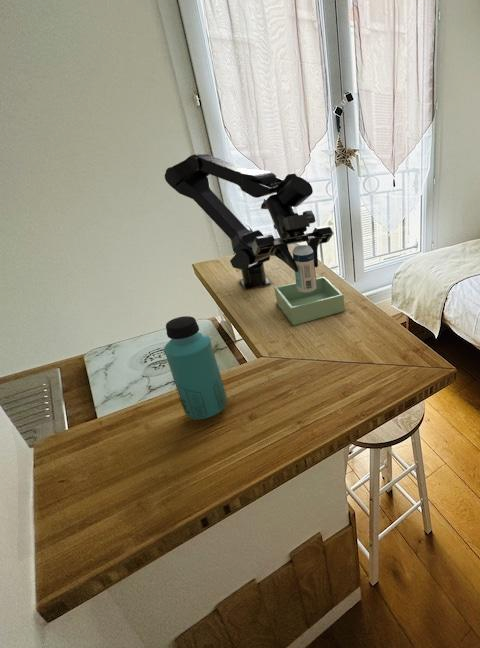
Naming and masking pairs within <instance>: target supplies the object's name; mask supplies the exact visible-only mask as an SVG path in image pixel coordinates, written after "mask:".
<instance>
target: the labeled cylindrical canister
mask: <svg viewBox="0 0 480 648" xmlns="http://www.w3.org/2000/svg"><path fill="white" fill-rule="evenodd" d="M307 245H308V244H300V245H296V246H294V247H293V250H292V258H293V260H294V261H295V263H296V266H297V268H298V272H295V271H294V275H295V276H294V277H295V283H296V285H297V290H298V291H300V292H303V293H308V292H312V291H314V290H315V289H316V288H317V283H316V278H317V275H316V267H315V263H314V253H313V250H312V248H311V247H310V246H307Z"/></svg>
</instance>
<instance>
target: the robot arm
mask: <svg viewBox="0 0 480 648" xmlns="http://www.w3.org/2000/svg"><path fill="white" fill-rule="evenodd" d="M210 175H211V176H213V177H216V178H218V179H221V180H223V181H227V182H229V183H232V184H235V185H237V186H238V187H239V188H240V190H241V191H242V192H243V193H245V194H247V195H249V196H251V197H253V198H255V199H256V198H257V199H258V198H262V197H266V196H268V197H267V198H263V200H262V201H263V202H262V203H261V205H260V209H261V210H268V213H269V216H270V217H271V220H272V222H273V228H274V230H276V231H277V234H278V237H275V238H274V235H272V234H267V235H264V234H263V233H262V231H260V229H257V230H250V229H248V228H247V227H246V226H245V225H244V224H243V223H242V222H241V220H240V219H238V218H237V216H236V215H235V214H234V213H233V212H232V211H231V210H230V209H229V208H228V207H227V205H225V203H224V202H223V201H222V200H221V199H220V198H219V197H218V196H217V195H216V193H214V192H213V190H212V189H211V186H210V185H211V184H210V179H209V176H210ZM164 180H165V181H166V183H167V184H168V186H170V187H171V188H172V189H174V191H176V192H177V193H178V194H180V195H182V196H185V197H187V198H189V199H192V200H193V201H194V202H195V203H196V205H198V206H199V208H201V210H202V211H204V213H205V214H206V215H207V216H208V217H209V218H210V219H211V220H212V221H213V223H215V224H216V226H217V227H219V229H220V230H221V231H222V232H223V233H224V234H225V235H226V236H227V237H228V238H229V239H230V240H231V246H232V251H233V252H234V253H235V254H234V256H232V257H231V259H230V260H229V262H230V264H231V267H232V268H233V269H237V270H240V271H241V276H242V278H241V279H239V282H240V283H241V285H242V286H243V288H244V289H245V290H249V289H254V288H259V287H264V286H269V285H271V281H270V280H269V279H268V278H267V276H266V271H265V265H264V263H265V262H269V261H270V260H271V257H276V258H278V259H279V260H280V261H282V262H284V263H285V264H286V265H287V266H288V267H289V268H290V269H291V270H292V271H294V273H295V272H298V268H297V266H296V263H295V261H294V260H293V255H292V254H291V251H290V250H289V246H288V245H293V244H298V243H305V242H306V245H307V246H310V247H311V248H312V250H313V253H314V263H315V268H318V266H319V258H318V256H319V255H318V247H319V245H322V244H326V243H328V242H330V240H331V238H332V237H333V235H334V232H333V229H332V227H330V226H329V225H322V226H316V227H314V228H313V230H312V232H308V233H305V232H307V230H308V228H309V227H311V226H310V224H314V223H315V222H316V216H315V214H314V212H313V210H312V209H311V210H304V211H303V212H302V214H299V213H298V212H296V211H295V208H298V207H299V206H300V205H301V204H302V203H304V202H305V201H306V200H307V199H308V198H309V197H310V196H312V195H313V194H314V193H313V192H314V190H313V187H312V185H311V183H310V181H307V180H306V179H304V178H303V177H300V176H298V175H297V174H296V172H291V173H288V174H286V176H285V178H284V179H283V178H280V177H278V176H277V175H276V174H275V173H274V172H272V171H269V170H262V169H249V168H245V167H242V166H239V165H237V164H234V163H232V162H229V161H226V160H223V159H221V158H218V157H216V156H213V155H212V154H210V153H207V152H204V153H196V154H191V155H189V156H188V157H186V159H184V160H183V161H180V162H178V163H176V164H174V165H172V166H171V167H167V168H166V169H165V173H164Z"/></svg>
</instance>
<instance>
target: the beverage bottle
mask: <svg viewBox="0 0 480 648" xmlns="http://www.w3.org/2000/svg"><path fill="white" fill-rule="evenodd" d="M165 330H166V335H167V337H168V339H170V340H169V341H167V343H166V344H165V346H164V347H163V353H164V355H165V358H166V360H167V363H168V367H169V370H170V373H171V377H172V380H173V382H174V386H175V390H176V392H177V394H178V395H177V396H178V400H179V402H180V404H181V407H182V410H183V411H184V412H183V413H184V415H185V416H186V417H188V418H189V419H192V420H204V419H209V418H211V417H213V416H217V414H219V413H220V412H221V411H223V410H224V409H225V407H226V405H227V402H228V394H227V390H226V389H225V388H226V387H225V384H224V381H223V378H222V374H221V371H220V368H219V365H218V361H217V359H216V355H215V352H214V348H213V345H212V340H211V338H210V336H209V335H208V334H206V333H202V332H199V331H200V327H199V324H198V322H197V319H196V318H195V317H193V316H190V315H189V316H186V315H185V316H179V317H174V318H173V319H170V320H169V321H167V322H166V324H165Z"/></svg>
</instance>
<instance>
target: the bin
mask: <svg viewBox="0 0 480 648" xmlns="http://www.w3.org/2000/svg"><path fill="white" fill-rule="evenodd" d="M316 283H317V288H316V289H315V290H314V291H312V292H308V293H303V292H300V291H298V290H297V285H296V282H293V283H287V284H283V285H279V286H275V287H273V288H274V293H275V299H276V304H277V306H278V307H279V309H280V310H281V311H282V312H283V314H284V315H285V316H286V318H287V319H288V321H289V322H290V323H291V324H292V326H296V325H300V324H304V323H307V322H310V321H314V320H317V319H320V318H325V317H329V316H331V315H332V316H333V315H335V314H338V313H339V314H340V313H342V312H345V298H344V294H343V293H342V292H341V291H340V290H339V289H338V288H337V287H336V286H335V285H334V284H333V283H332V282H330V280H329V279H327V277H326V276H320V277H316Z"/></svg>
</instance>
